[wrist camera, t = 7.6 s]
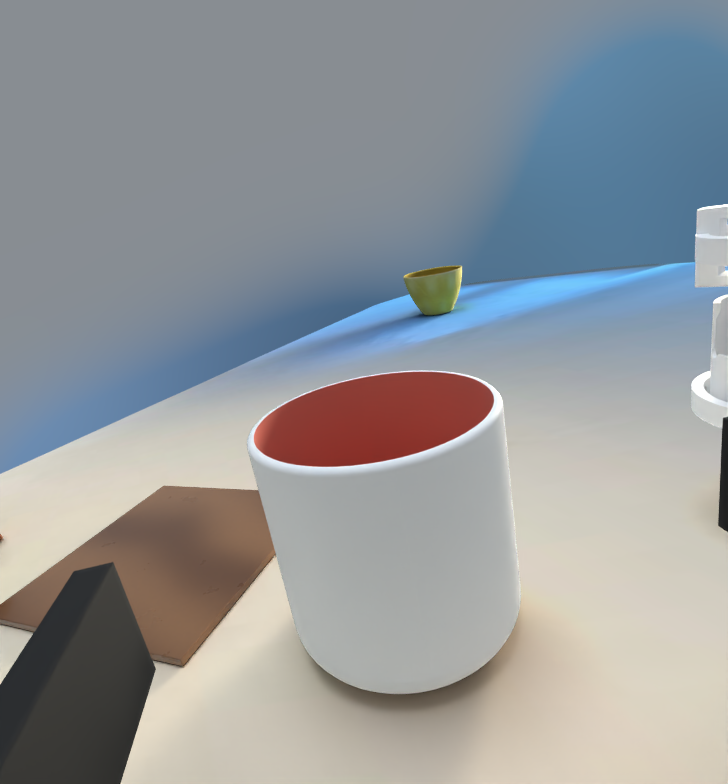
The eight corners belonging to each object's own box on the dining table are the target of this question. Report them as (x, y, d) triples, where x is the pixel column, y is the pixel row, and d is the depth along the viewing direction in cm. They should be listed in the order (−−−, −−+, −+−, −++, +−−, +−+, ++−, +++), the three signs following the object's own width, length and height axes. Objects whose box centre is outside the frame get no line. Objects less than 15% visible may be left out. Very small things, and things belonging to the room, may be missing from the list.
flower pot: (407, 322, 86) (400, 279, 84) (411, 310, 96) (405, 272, 93) (467, 313, 84) (462, 269, 82) (465, 302, 94) (460, 263, 91)
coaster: (182, 667, 23) (180, 659, 22) (-13, 621, 28) (-16, 615, 28) (321, 498, 35) (320, 493, 34) (165, 489, 40) (163, 485, 40)
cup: (300, 569, 28) (256, 397, 25) (477, 528, 28) (456, 356, 25) (301, 743, 18) (230, 499, 15) (568, 676, 19) (552, 428, 16)
